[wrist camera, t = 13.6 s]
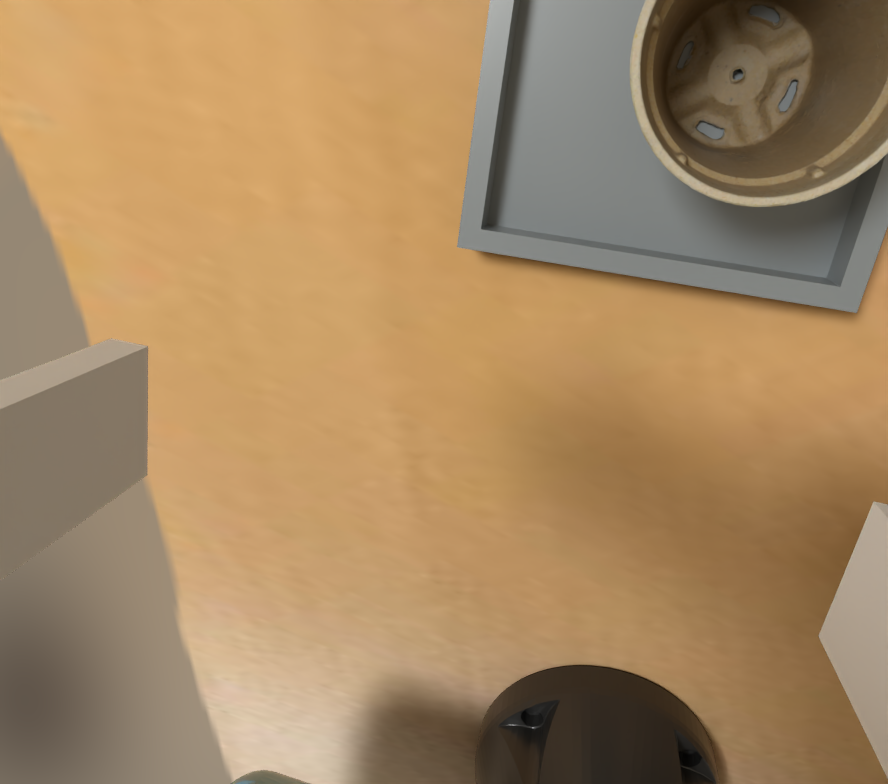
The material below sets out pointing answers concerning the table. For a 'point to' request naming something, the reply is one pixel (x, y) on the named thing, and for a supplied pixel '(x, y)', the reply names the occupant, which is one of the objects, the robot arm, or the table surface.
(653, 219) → the tray
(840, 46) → the flower pot
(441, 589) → the table surface
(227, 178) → the table surface
